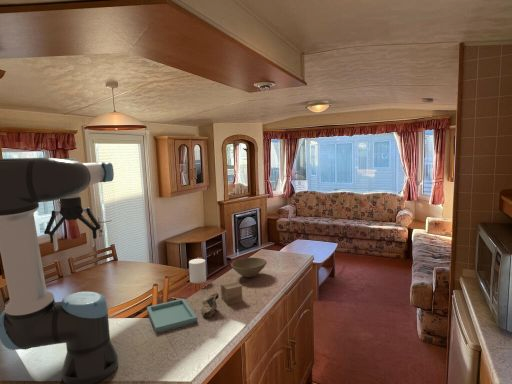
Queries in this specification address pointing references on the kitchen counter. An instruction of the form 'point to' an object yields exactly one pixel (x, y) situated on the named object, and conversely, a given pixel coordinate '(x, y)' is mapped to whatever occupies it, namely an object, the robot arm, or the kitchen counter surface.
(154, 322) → the tray
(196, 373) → the kitchen counter surface
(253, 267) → the bowl
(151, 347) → the kitchen counter surface
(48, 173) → the robot arm
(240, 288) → the walnut cube
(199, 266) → the mug
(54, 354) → the kitchen counter surface
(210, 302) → the rock
